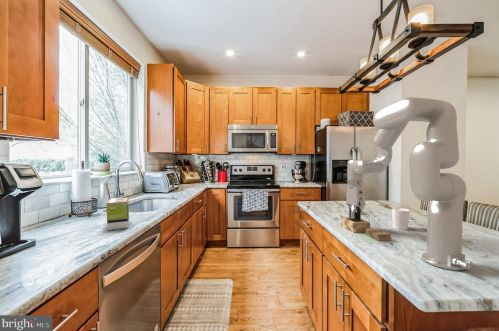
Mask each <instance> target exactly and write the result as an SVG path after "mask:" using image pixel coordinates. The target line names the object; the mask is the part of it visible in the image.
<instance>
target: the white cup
mask: <svg viewBox="0 0 499 331" xmlns="http://www.w3.org/2000/svg"><path fill="white" fill-rule="evenodd" d="M410 211H411V210H410V209H408V208H403V207H402V208H400V207H393V208H391V217H392V218H391V220H392V227H393V229H396V230H400V231H407V230H409V223H410Z"/></svg>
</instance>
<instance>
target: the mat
mask: <svg viewBox="0 0 499 331" xmlns="http://www.w3.org/2000/svg"><path fill="white" fill-rule="evenodd" d="M354 236H355V237H357V238H359V239H361V240H362V241H364V242H366V243H368V244H382V243H384V244H385V243H398V242H399V241H397V240H395V239H393V238H391V241H376V240H375V239H373V238H371V237H369V236H367V235H366V233H354Z"/></svg>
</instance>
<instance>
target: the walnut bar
mask: <svg viewBox="0 0 499 331" xmlns="http://www.w3.org/2000/svg"><path fill="white" fill-rule="evenodd" d="M365 234H366V235H367V236H369V237H371V238H373V239H375V240H376V241H391V239H392V234H391V233H389V232H387V231H384V230H382V229H380V228H378V227H377V228H376V227H375V228H370V229H366V232H365Z"/></svg>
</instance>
